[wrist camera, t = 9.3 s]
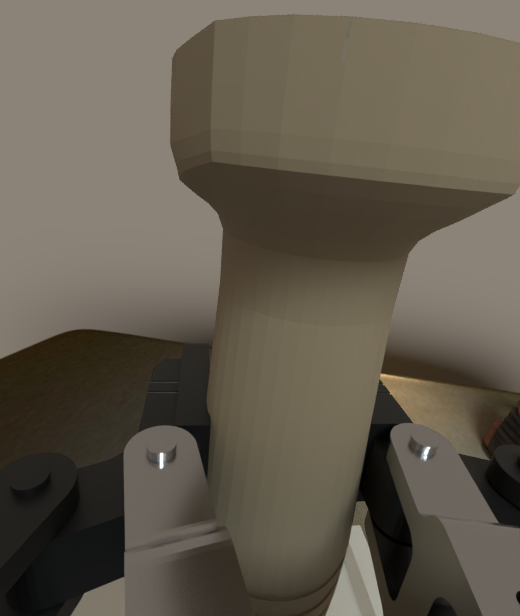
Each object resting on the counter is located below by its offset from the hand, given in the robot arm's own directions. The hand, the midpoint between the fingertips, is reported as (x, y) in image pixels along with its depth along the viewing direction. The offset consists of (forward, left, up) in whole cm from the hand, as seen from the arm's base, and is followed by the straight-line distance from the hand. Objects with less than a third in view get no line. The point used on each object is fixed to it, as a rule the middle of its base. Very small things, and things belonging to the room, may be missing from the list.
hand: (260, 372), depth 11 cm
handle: (0, -3, -8) cm, 9 cm away
